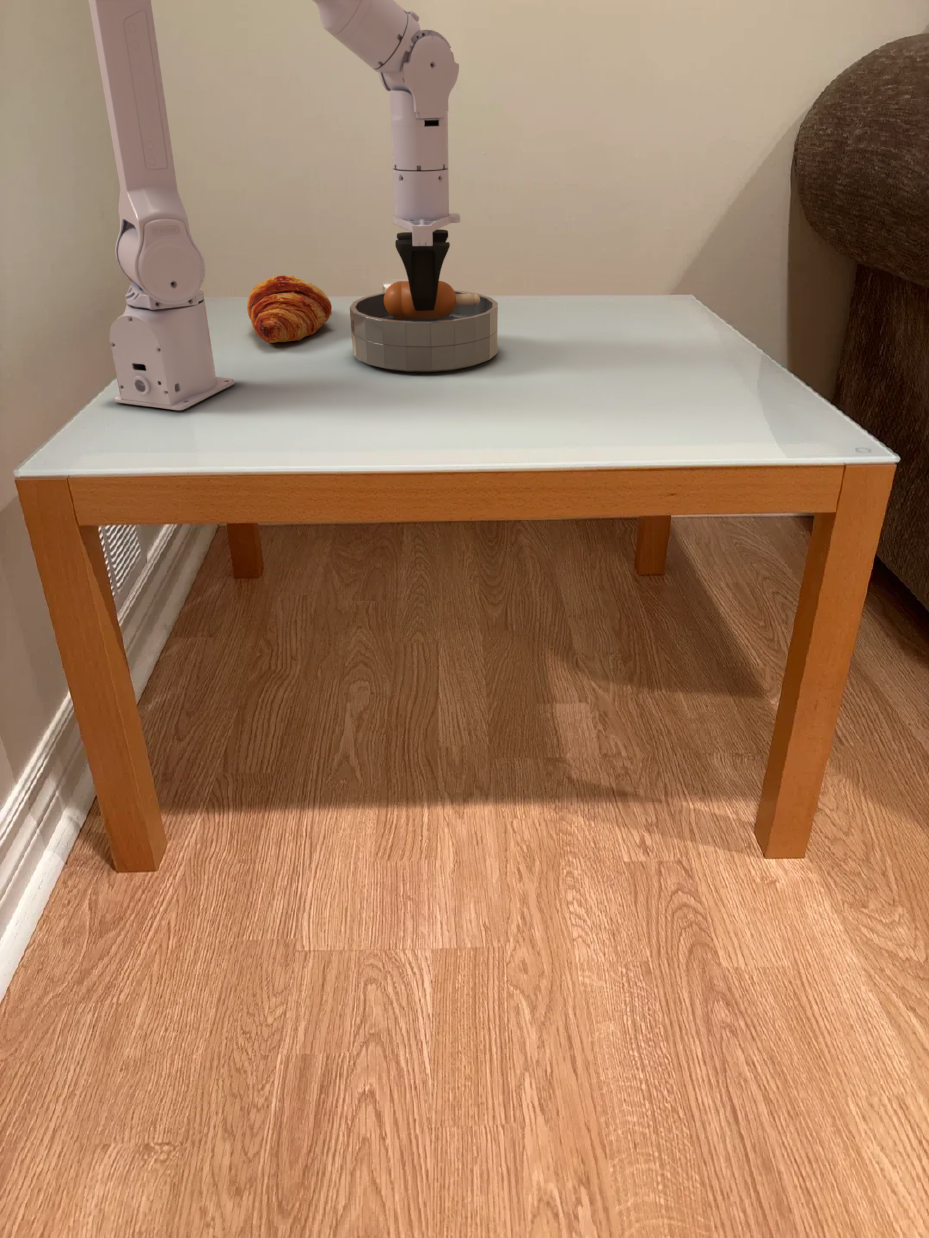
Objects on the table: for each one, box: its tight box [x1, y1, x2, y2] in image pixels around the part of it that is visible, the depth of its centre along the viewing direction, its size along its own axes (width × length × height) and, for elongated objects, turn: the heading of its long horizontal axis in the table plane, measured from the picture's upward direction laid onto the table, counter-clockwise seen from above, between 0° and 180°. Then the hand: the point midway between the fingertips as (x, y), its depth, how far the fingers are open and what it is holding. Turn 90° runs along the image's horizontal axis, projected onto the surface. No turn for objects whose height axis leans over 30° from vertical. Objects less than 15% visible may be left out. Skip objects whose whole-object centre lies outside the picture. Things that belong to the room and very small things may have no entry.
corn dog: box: [384, 280, 480, 320], centre depth 101 cm, size 11×4×4 cm, turn 92°
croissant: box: [246, 274, 333, 344], centre depth 113 cm, size 21×10×8 cm, turn 178°
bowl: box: [349, 289, 499, 373], centre depth 103 cm, size 16×16×6 cm
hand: (424, 305), depth 101 cm, fingers closed on corn dog, 4 cm apart
